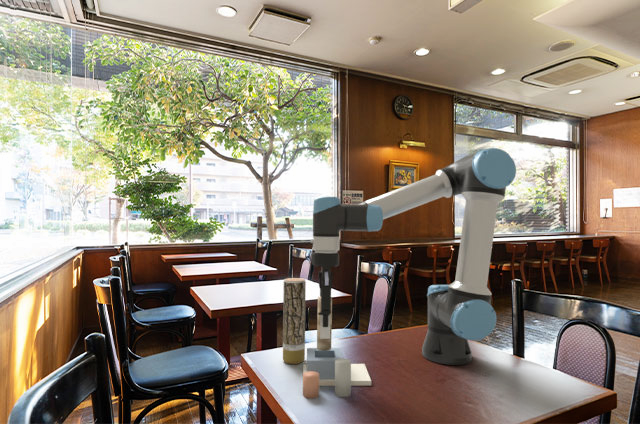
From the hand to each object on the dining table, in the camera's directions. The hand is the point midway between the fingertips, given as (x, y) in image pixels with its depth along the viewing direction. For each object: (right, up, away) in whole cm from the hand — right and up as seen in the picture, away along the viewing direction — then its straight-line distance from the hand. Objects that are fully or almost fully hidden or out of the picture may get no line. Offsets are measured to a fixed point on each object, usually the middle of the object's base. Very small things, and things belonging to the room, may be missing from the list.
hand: (324, 335), depth 106 cm
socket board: (+3, -11, 0) cm, 12 cm away
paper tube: (-9, -12, +11) cm, 19 cm away
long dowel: (0, -4, 0) cm, 4 cm away
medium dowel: (+4, -11, -11) cm, 16 cm away
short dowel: (-4, -11, -11) cm, 16 cm away
